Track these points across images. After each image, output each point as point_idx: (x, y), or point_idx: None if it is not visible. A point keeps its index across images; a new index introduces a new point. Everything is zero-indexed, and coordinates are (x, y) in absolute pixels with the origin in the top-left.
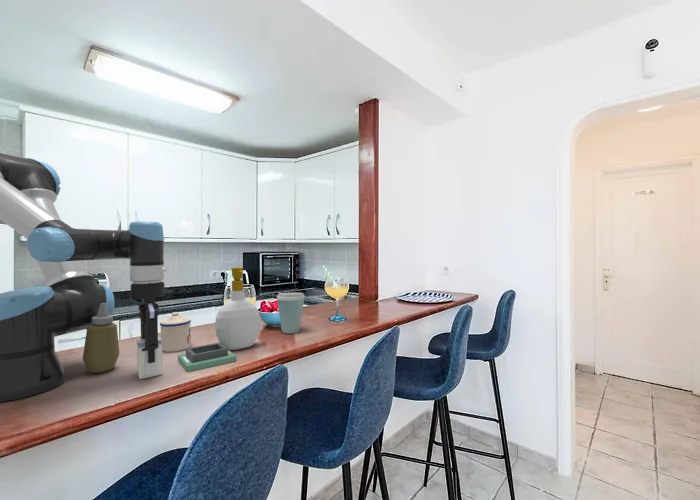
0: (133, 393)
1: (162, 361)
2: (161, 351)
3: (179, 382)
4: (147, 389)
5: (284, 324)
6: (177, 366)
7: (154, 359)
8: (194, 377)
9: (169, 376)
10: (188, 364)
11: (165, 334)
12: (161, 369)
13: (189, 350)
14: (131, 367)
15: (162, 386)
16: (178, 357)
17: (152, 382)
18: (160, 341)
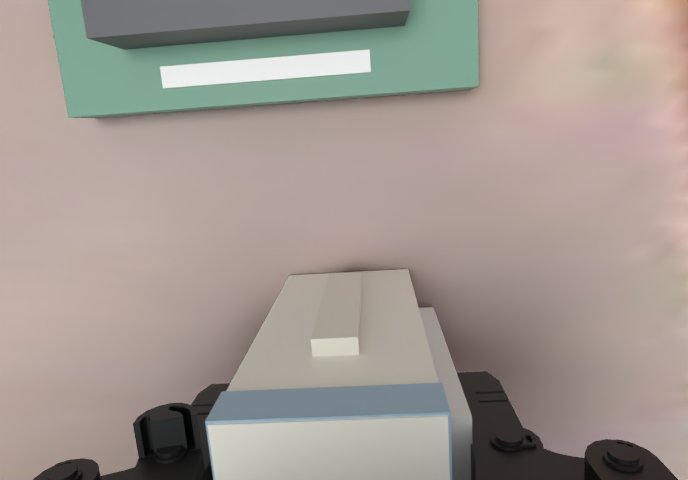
0: (654, 445)
1: (359, 286)
2: (425, 342)
3: (668, 176)
4: (645, 373)
5: None
6: (265, 142)
7: (500, 389)
8: (640, 57)
9: (478, 225)
10: (429, 68)
11: None
12: (411, 283)
13: (183, 10)
14: (95, 431)
15: (661, 288)
16: (102, 116)
17: (527, 336)
18: (445, 414)
